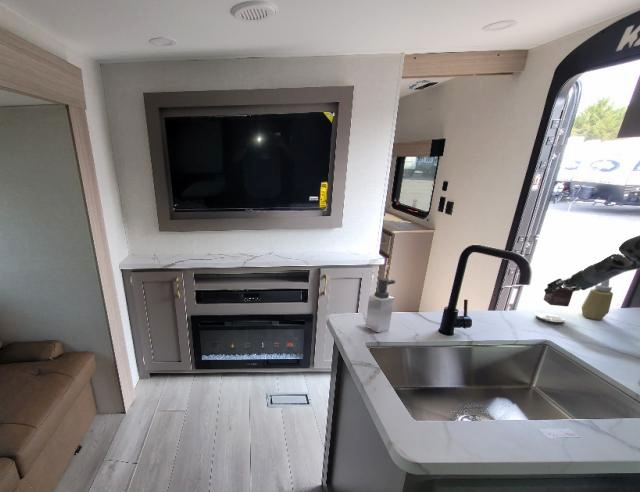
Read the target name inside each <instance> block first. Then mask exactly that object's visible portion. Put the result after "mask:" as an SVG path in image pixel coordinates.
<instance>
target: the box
mask: <svg viewBox="0 0 640 492" xmlns="http://www.w3.org/2000/svg"><path fill="white" fill-rule="evenodd" d="M562 286H563V288H564V287H565V286H564V285H562ZM546 288H548V286H547V287H546ZM558 288H559V287H558ZM573 291H574V290H573V289H571V288H569V289H565V290H561V289H560V290H556V291H554V292H552V293H550V294H546V293H545V292H544V297H543V299H542V300H543V301H544V302H546V303H547V304H548V305H550V306H558V307H569V305H570V302H571V300H572V296H573V294H574V292H575V291H574V292H573Z"/></svg>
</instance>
